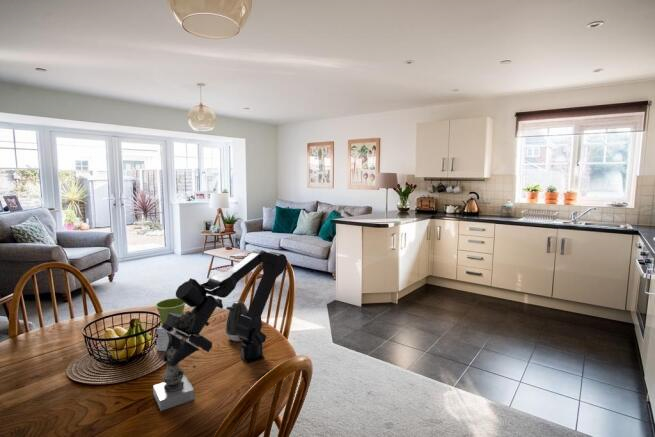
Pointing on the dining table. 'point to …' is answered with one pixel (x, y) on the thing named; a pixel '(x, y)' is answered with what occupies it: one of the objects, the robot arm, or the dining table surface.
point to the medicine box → (162, 339)
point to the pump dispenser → (234, 319)
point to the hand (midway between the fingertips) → (168, 363)
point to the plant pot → (169, 308)
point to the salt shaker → (172, 373)
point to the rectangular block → (173, 395)
